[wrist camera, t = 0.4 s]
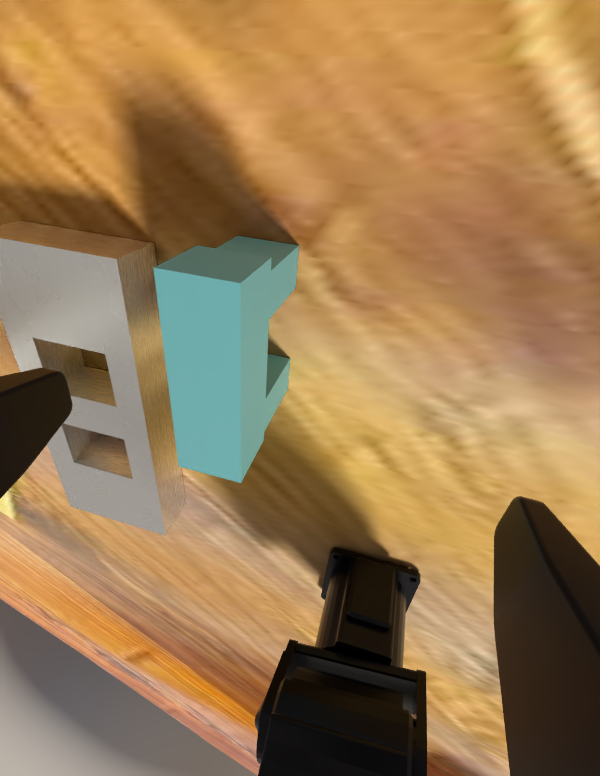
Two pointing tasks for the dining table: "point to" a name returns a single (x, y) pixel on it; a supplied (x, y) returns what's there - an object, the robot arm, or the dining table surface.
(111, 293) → the rail
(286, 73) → the dining table surface
